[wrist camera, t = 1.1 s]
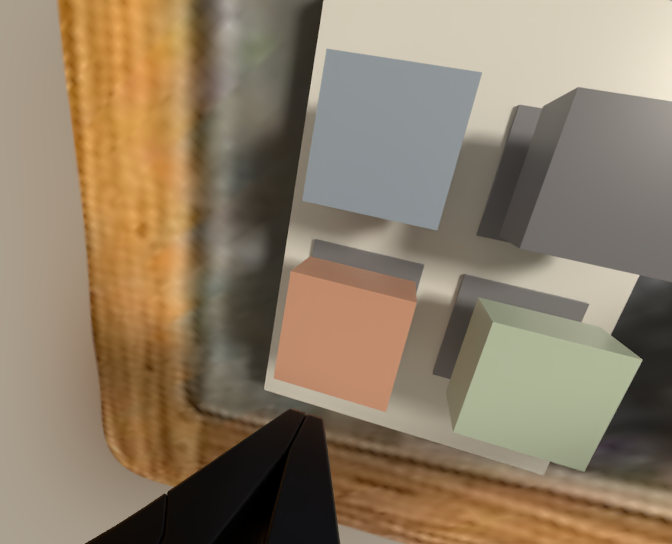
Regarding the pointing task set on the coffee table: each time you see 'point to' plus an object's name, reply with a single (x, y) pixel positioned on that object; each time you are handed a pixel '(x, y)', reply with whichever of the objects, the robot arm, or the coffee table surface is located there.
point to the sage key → (537, 383)
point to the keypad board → (474, 181)
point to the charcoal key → (598, 183)
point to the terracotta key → (344, 331)
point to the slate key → (388, 136)
